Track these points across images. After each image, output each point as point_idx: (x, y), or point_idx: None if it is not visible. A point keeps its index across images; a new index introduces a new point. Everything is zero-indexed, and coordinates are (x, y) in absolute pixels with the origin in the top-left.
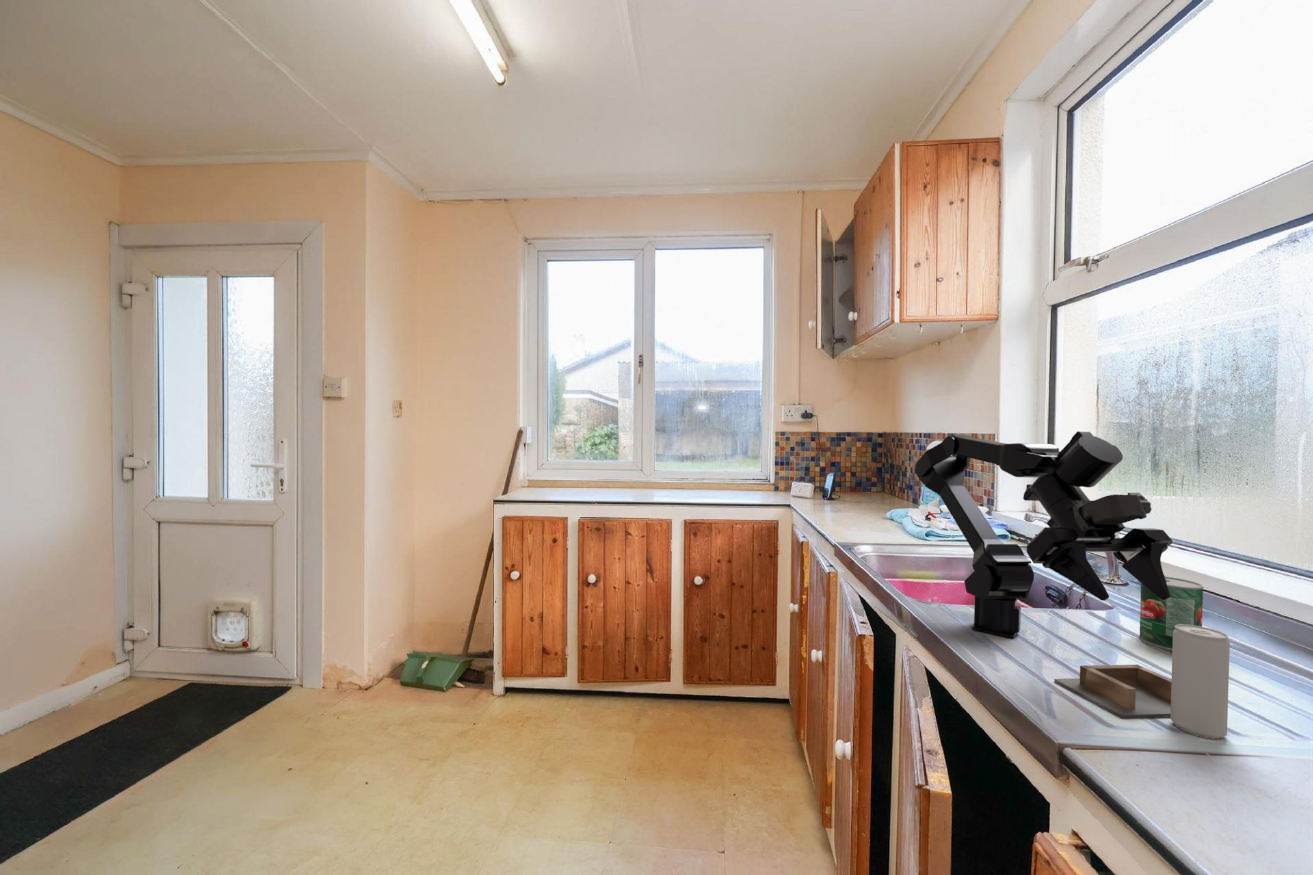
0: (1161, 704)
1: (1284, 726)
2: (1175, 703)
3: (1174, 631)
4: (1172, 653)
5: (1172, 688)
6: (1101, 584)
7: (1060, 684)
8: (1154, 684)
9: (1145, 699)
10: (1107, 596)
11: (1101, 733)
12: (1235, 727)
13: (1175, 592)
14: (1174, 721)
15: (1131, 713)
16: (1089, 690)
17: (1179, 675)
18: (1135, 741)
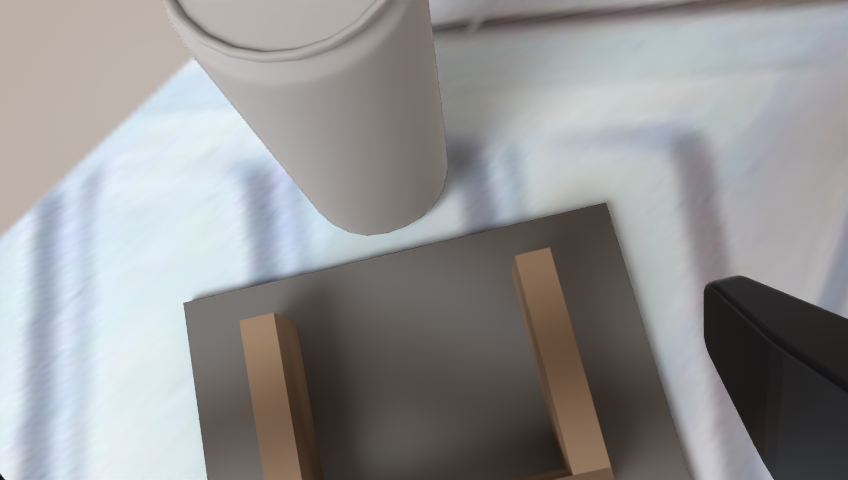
0: (373, 328)
1: (29, 260)
2: (444, 141)
3: (403, 4)
4: (413, 93)
5: (435, 145)
6: (816, 335)
7: None
8: (308, 443)
9: (406, 366)
10: (727, 281)
11: (749, 83)
12: (219, 219)
13: None
14: (447, 169)
15: (558, 223)
16: (603, 418)
17: (436, 71)
18: (660, 54)
